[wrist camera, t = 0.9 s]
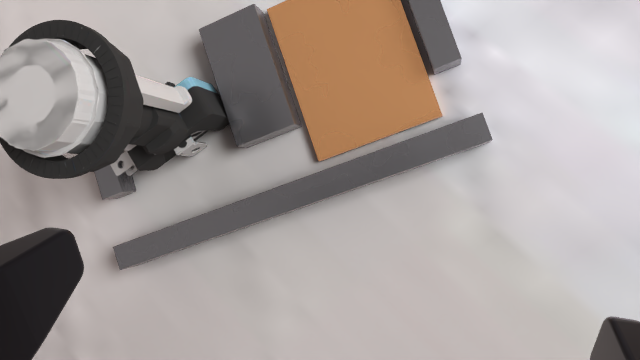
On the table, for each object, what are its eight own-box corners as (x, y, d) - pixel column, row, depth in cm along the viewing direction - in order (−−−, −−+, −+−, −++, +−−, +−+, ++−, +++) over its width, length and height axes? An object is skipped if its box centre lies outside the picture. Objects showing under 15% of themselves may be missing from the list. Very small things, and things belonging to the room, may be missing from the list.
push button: (155, 211, 26) (-17, 232, 16) (107, 127, 27) (-87, 98, 17) (255, 139, 25) (132, 115, 15) (201, 53, 25) (51, -25, 16)
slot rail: (138, 264, 26) (120, 270, 25) (85, 93, 27) (65, 88, 26) (489, 142, 22) (492, 139, 20) (415, -58, 23) (413, -74, 21)
